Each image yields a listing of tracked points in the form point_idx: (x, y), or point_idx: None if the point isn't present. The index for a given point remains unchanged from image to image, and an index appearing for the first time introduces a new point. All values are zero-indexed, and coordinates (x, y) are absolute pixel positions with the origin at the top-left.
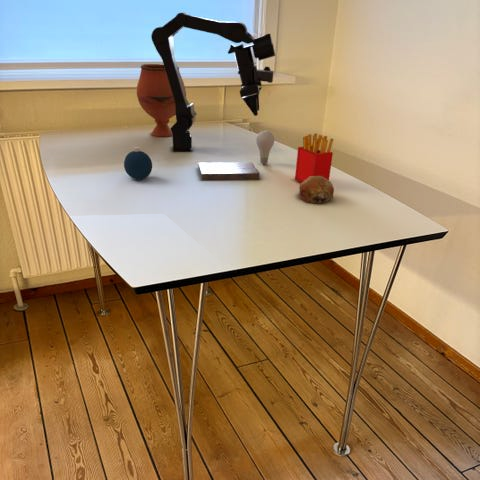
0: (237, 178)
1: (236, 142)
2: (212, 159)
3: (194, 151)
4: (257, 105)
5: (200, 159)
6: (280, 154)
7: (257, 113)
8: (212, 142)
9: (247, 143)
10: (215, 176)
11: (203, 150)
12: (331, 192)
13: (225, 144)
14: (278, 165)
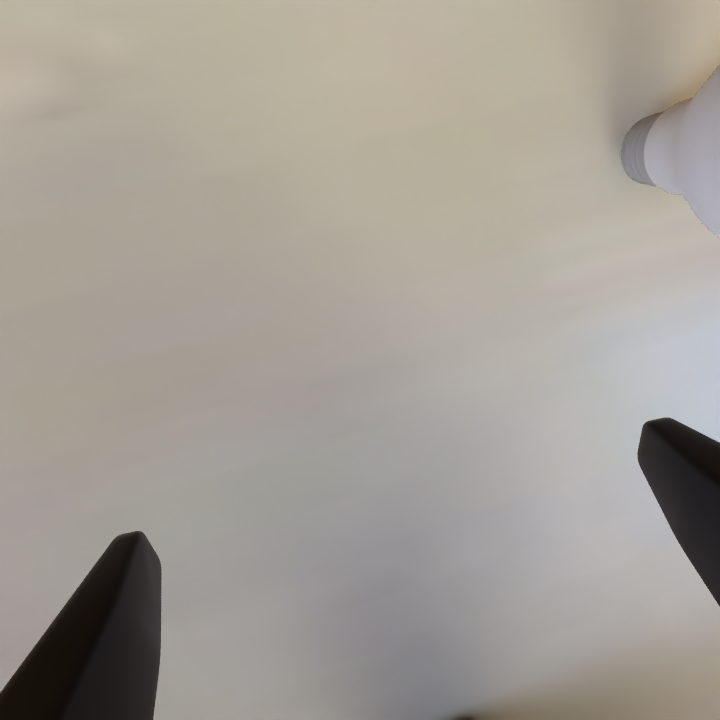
0: None
1: (35, 559)
2: (611, 541)
3: (453, 700)
4: (127, 629)
5: (632, 602)
6: (243, 71)
7: (694, 431)
8: None
9: (9, 472)
10: None
11: (404, 667)
12: None
13: None
14: (640, 5)
